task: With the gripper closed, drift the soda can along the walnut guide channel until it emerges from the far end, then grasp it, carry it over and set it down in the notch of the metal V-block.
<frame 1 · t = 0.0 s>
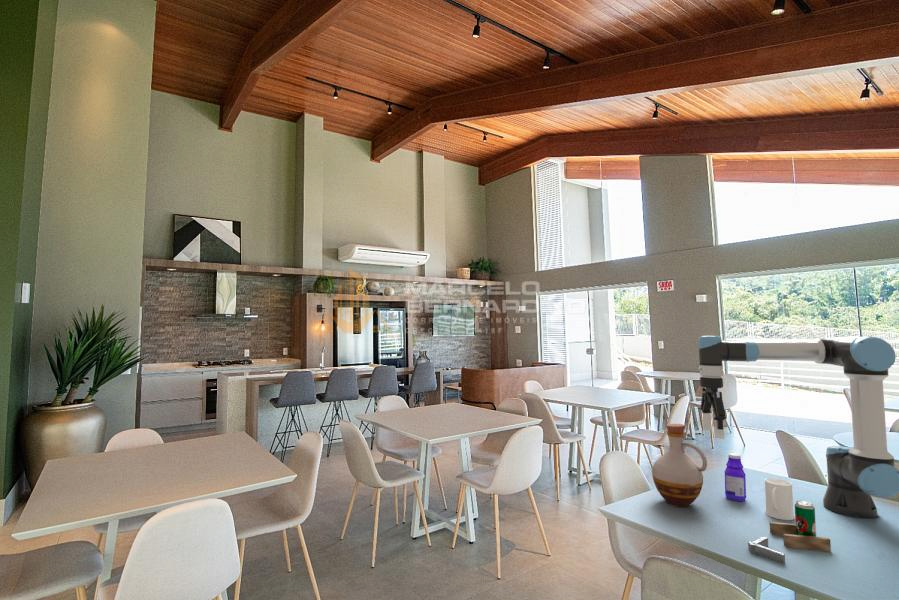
hand: (713, 434, 169), 28 cm above the table, fingers open, 13 cm apart
soda can: (806, 543, 143), on the table
guide channel: (799, 541, 143), on the table
bottle: (735, 499, 180), on the table
v block: (764, 553, 136), on the table
jug: (680, 504, 175), on the table
mug: (778, 517, 163), on the table
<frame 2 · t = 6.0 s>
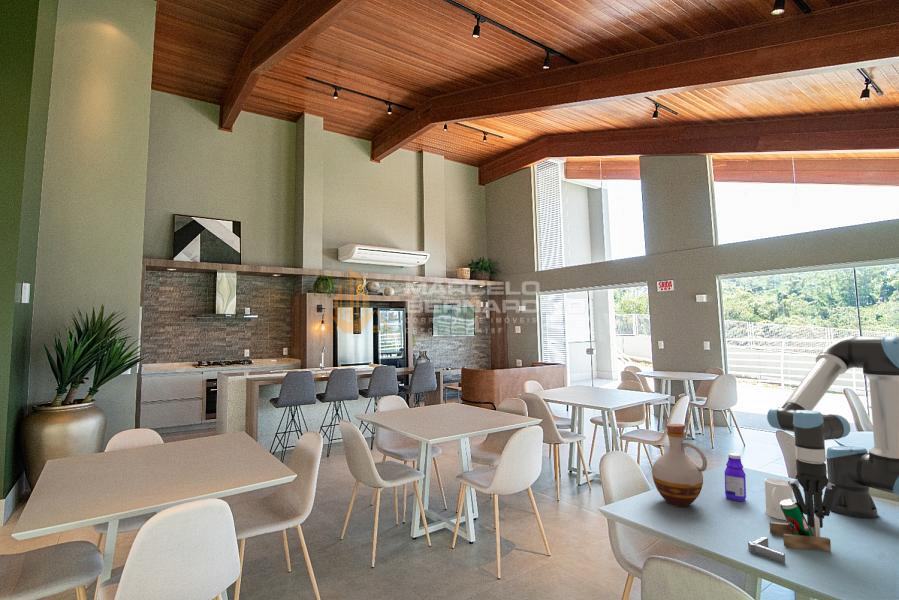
hand: (815, 537, 142), 2 cm above the table, fingers closed
soda can: (805, 540, 143), point 1 cm above the table, touching gripper, hand
everything else where it was.
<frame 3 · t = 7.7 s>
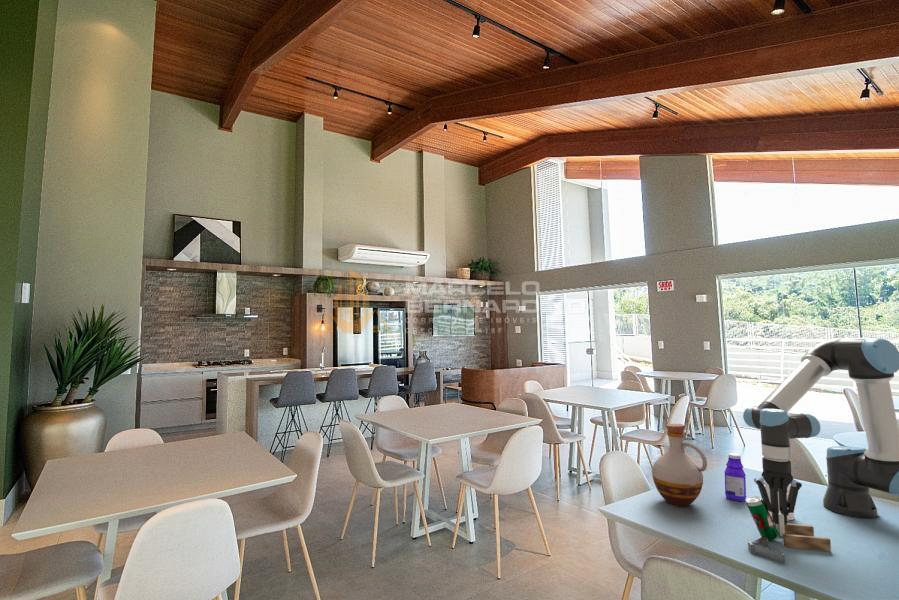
hand: (780, 534, 144), 2 cm above the table, fingers closed
soda can: (770, 537, 145), point 1 cm above the table, touching gripper, hand
everything else where it was.
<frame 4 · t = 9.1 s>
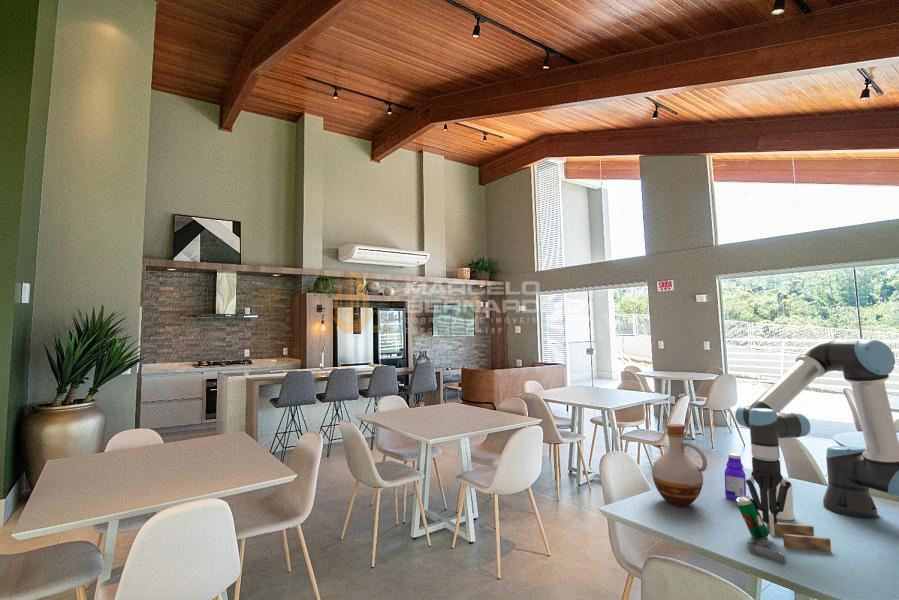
hand: (770, 533, 145), 2 cm above the table, fingers closed
soda can: (761, 536, 145), point 1 cm above the table, touching gripper, hand
everything else where it was.
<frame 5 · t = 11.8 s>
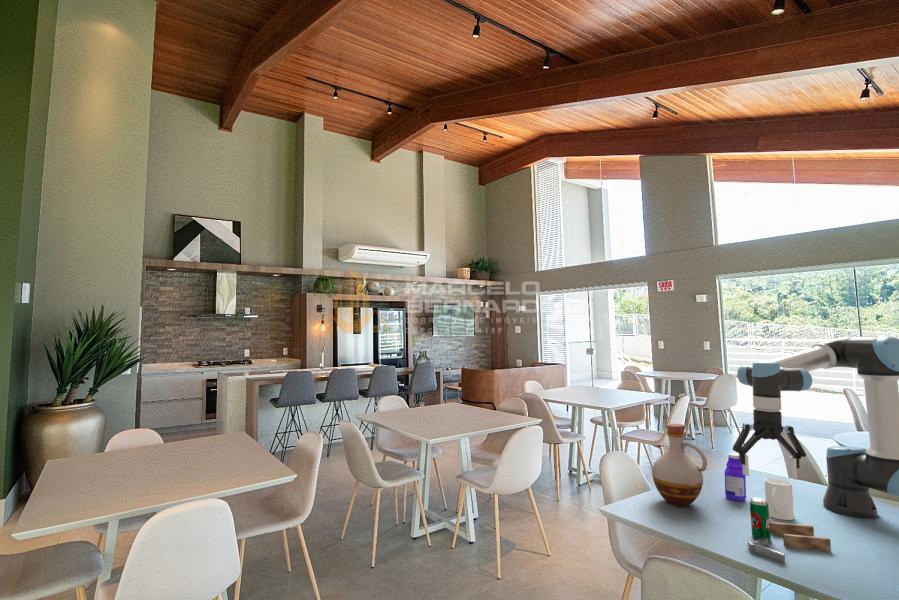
hand: (769, 476, 146), 20 cm above the table, fingers open, 13 cm apart
soda can: (761, 539, 145), on the table
everything else where it was.
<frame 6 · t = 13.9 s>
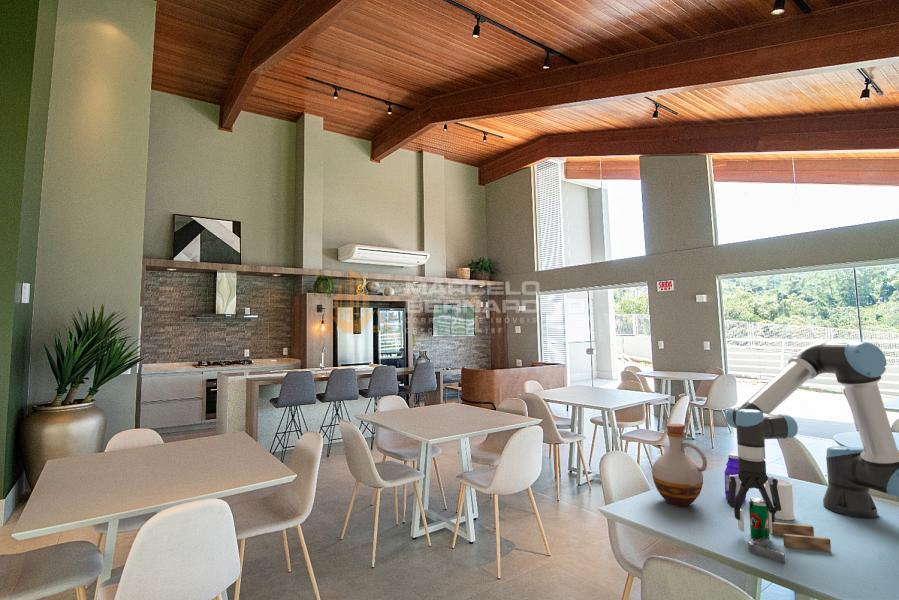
hand: (755, 530, 146), 2 cm above the table, fingers open, 7 cm apart
soda can: (760, 539, 145), on the table, touching gripper
everything else where it was.
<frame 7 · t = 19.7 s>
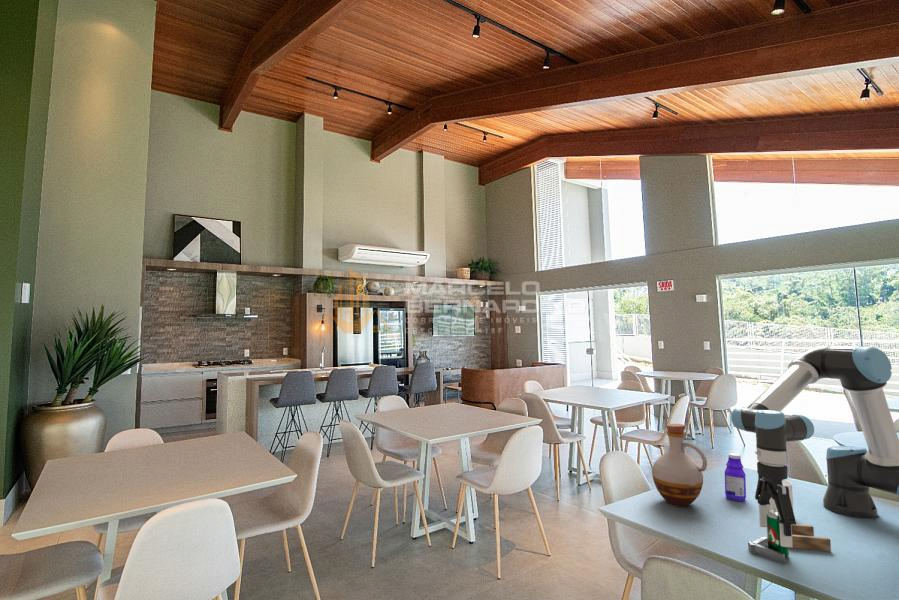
hand: (775, 536, 135), 5 cm above the table, fingers open, 13 cm apart
soda can: (778, 555, 135), on the table
everything else where it was.
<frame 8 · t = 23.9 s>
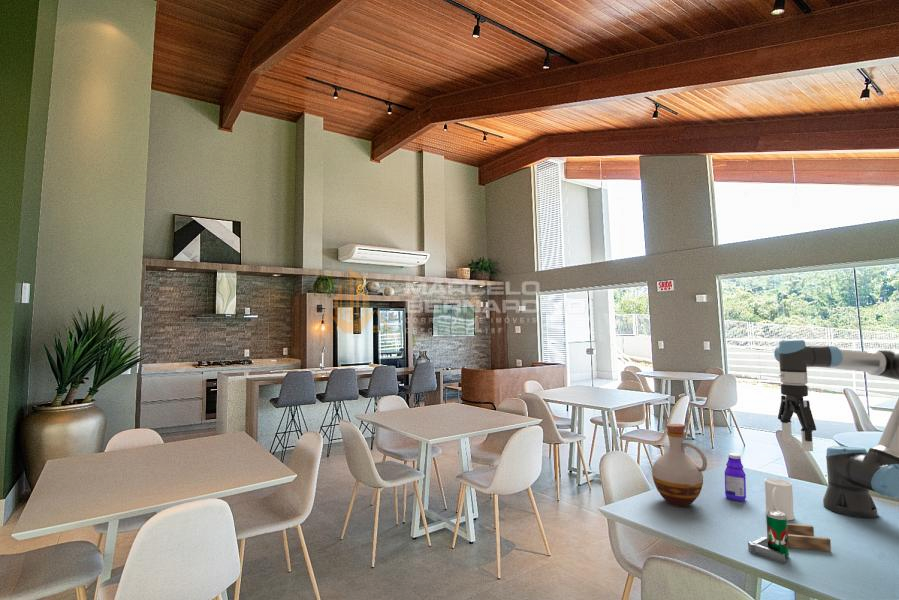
hand: (797, 446, 157), 27 cm above the table, fingers open, 13 cm apart
nothing on the table moved.
at the end: soda can inside the target area on the v block (0.3 cm from its centre), point 0.0 cm above the v block's base; soda can tilted 0°; the gripper is holding nothing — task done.
